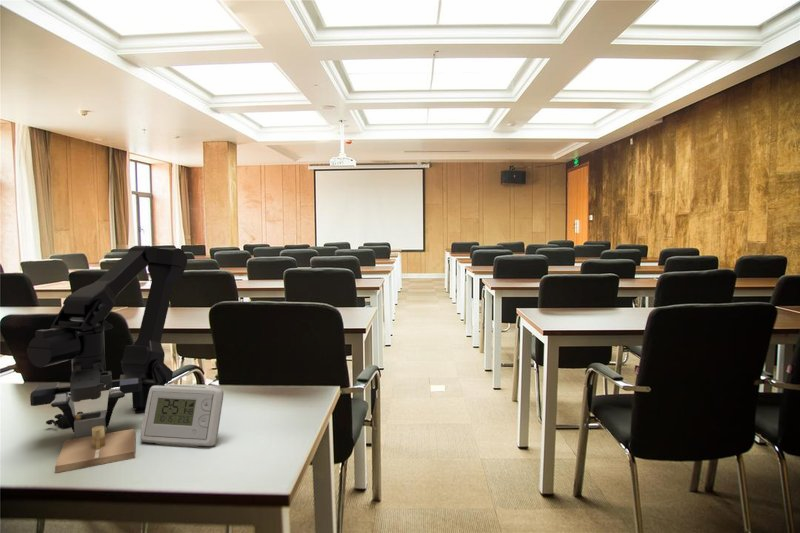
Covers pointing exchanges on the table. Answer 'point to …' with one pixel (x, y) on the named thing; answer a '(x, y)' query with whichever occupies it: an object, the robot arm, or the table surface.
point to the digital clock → (182, 415)
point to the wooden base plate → (96, 449)
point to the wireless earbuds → (60, 421)
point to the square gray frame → (89, 423)
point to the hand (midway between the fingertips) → (91, 429)
